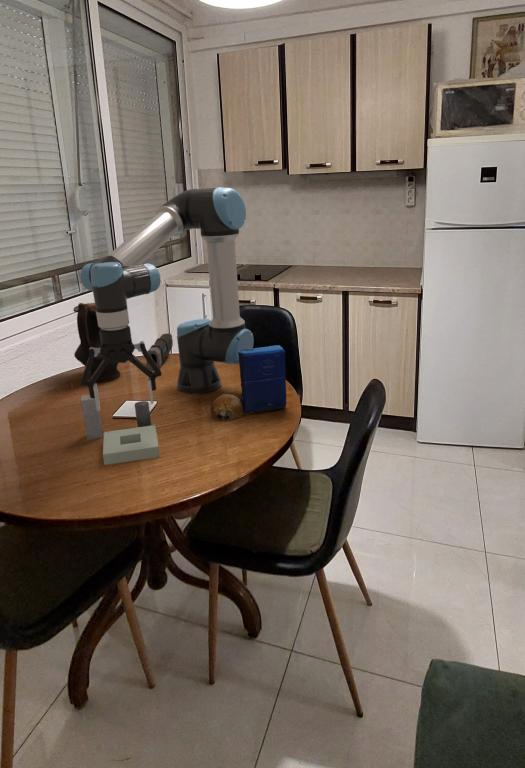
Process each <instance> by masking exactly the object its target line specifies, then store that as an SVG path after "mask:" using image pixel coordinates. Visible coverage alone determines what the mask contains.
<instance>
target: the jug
mask: <svg viewBox="0 0 525 768" xmlns="http://www.w3.org/2000/svg"><path fill="white" fill-rule="evenodd" d="M73 312H74V313H77V314H76V323H77V327H76V328H77V331H78V332H77V333H78V337H79V340H80V341H79V342H80V343H79V345H78V347H77V348H76V350H75V351H74V358H75V359H76V360H77V361H79V362H80V364H82V365H83V366H84V367H86V364H87V361H88V359H89V349H90V347H94V348H101V340H100V333H99V330H100V327H99V326H98V321H97V314H96V306H95V302H88V303H84V302H80V303H78V305H76V306H74V307H73ZM104 358H105V357H104V356H103V355H102V354H101V353H98V355H97V357H94V361H93V364H92V367H91V369H90V372H89V379H90V378H91V377H92V376H93V374H94V373H95V371H96V370H97V368H98V367H99V365H100V364H101V363H102V361H103V359H104ZM118 365H119V363H116V364H113V363H109V364H108V365H107V367H106V368H105V369H104V371H103V372H102V373H101V375H100V376H99V378H98V379H97V381H96V382H109V381H113V380H116V379H118V378H119V377H120V376H121V373H120V371H119V370H118Z"/></svg>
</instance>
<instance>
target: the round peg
mask: <svg viewBox="0 0 525 768" xmlns="http://www.w3.org/2000/svg"><path fill="white" fill-rule="evenodd" d="M149 403H150V402H149V401H147V400H141V401H137V402H135V403H134V409H135V410H134V411H135V418H136V419H135V420H136V425H137V426H136V428H138V427H145V426H152V419H151V411H150V404H149Z"/></svg>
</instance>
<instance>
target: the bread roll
mask: <svg viewBox="0 0 525 768" xmlns="http://www.w3.org/2000/svg"><path fill="white" fill-rule="evenodd" d="M242 412H243V407H242V404H241V401H240V397H239V398H238V397H237V396H235V395H233V394H228V393H223V394H221V395H220V396H218V397H217V398H216V399H215V400H213V402H212V404H211V406H210V415H211V416H212V417H213V418H214V419H216V420H219V421H232V420H236V419H239V417H241V416H242V415H243V413H242Z"/></svg>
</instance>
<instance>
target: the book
mask: <svg viewBox="0 0 525 768" xmlns="http://www.w3.org/2000/svg"><path fill="white" fill-rule="evenodd" d="M238 355H239V364H238V365H239V374H240V376H239V377H240V387H241V393H240V394H239V395H240V397H239V399H240V401H241V404H242V407H243V412H242V413H243V414H246V415H247V414H253V413H254V414H256V413H257V414H258V413H264V412H269V411H275V410H281V409H283V408H286V407H287V378H286V375H287V374H286V351H285V349H284V348H283V347H282V346H281V345H269V346H264V347H263V346H262V347H255V348H254V347H253V348H252V349H240V350H239V351H238ZM243 414H242V415H243Z"/></svg>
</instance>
